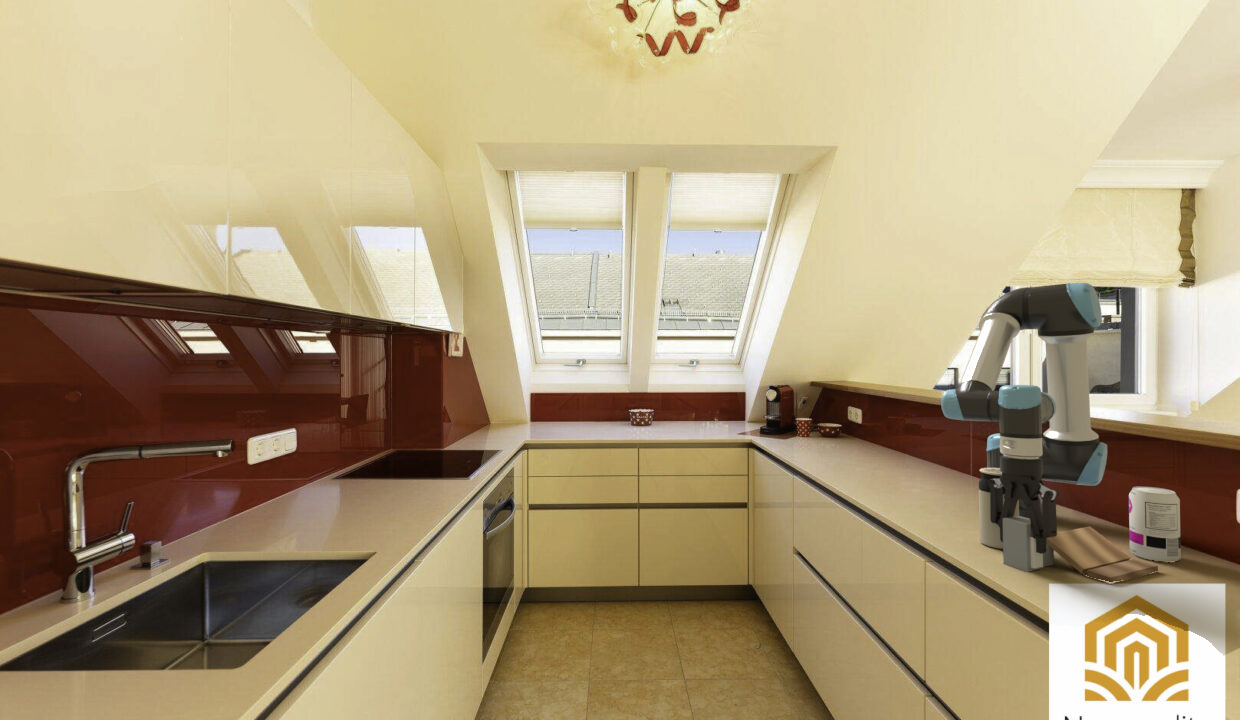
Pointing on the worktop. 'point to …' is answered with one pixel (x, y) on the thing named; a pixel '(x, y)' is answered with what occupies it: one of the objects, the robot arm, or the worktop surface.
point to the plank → (1086, 549)
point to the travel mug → (987, 528)
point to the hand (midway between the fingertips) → (1022, 562)
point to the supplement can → (1154, 524)
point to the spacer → (1021, 544)
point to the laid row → (1122, 570)
